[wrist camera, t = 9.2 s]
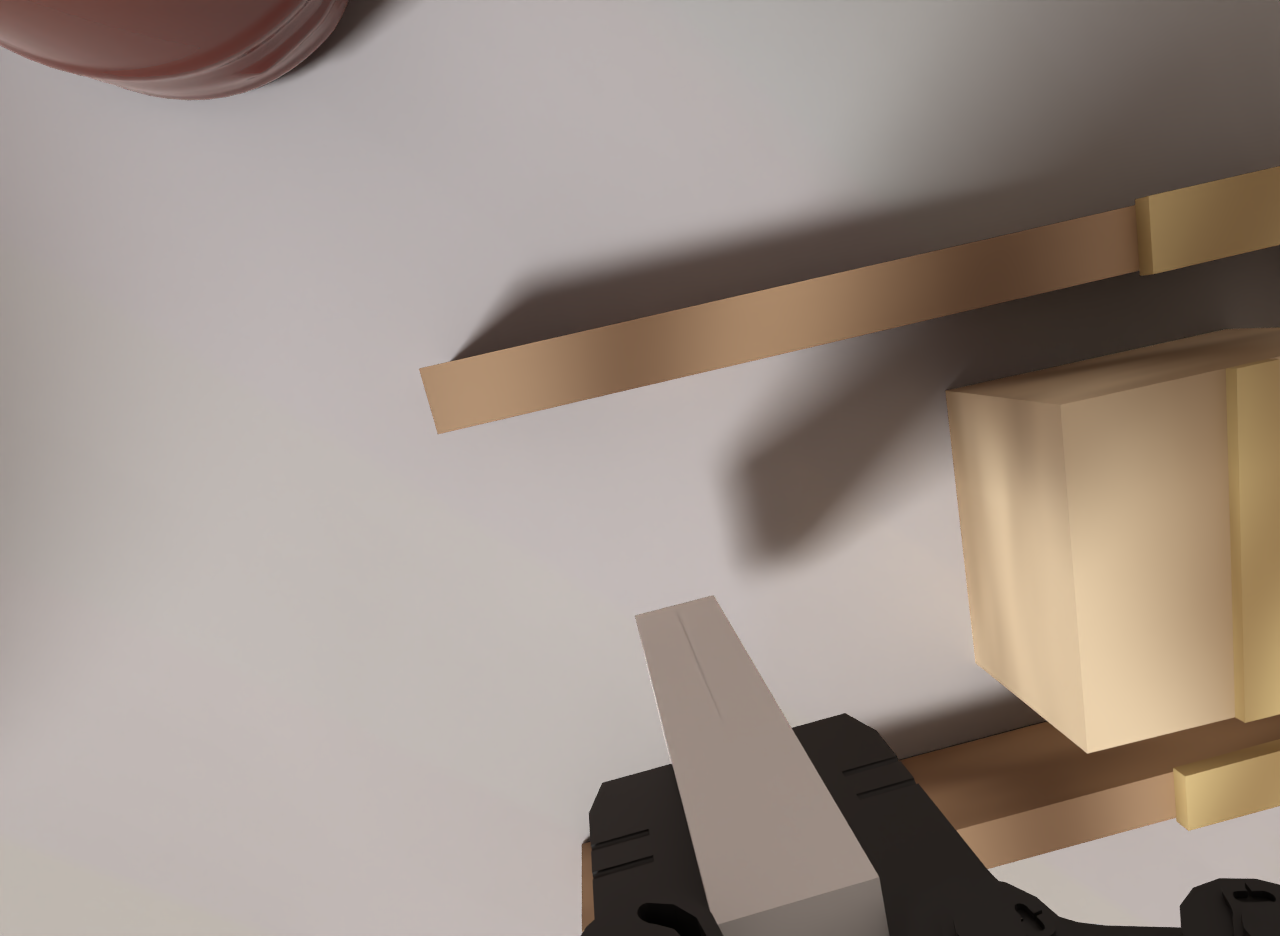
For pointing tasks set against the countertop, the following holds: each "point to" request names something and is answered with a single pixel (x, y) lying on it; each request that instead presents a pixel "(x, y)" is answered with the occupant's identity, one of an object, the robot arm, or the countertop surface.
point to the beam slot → (905, 294)
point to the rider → (1127, 535)
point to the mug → (170, 41)
